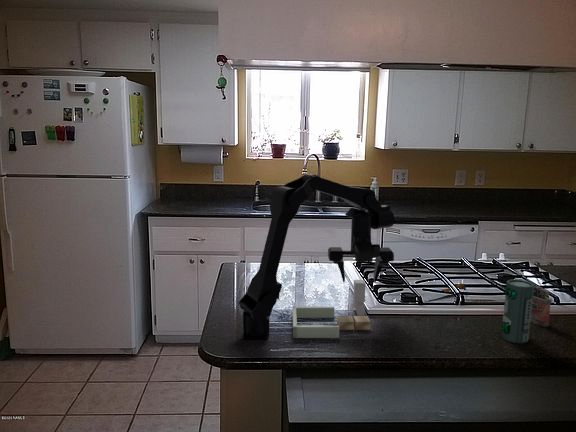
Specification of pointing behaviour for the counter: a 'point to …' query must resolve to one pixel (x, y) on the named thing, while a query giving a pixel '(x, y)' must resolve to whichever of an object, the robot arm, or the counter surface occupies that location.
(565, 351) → the counter surface
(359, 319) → the chip
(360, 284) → the grey stepped block
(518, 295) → the can
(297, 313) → the green u-shaped frame
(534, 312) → the red printed box
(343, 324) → the chip
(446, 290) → the primitive tool
